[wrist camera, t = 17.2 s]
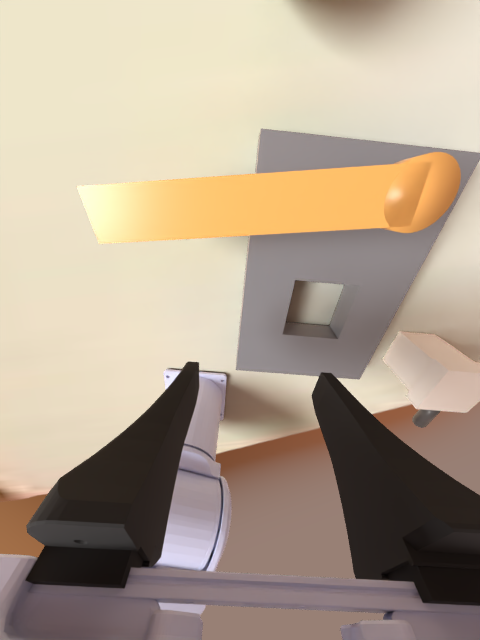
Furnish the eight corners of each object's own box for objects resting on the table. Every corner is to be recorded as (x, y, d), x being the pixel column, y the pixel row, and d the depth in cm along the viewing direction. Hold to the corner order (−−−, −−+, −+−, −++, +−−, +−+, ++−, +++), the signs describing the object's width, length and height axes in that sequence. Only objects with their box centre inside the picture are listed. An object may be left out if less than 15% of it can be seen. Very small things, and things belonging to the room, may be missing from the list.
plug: (403, 384, 27) (445, 433, 21) (366, 381, 26) (398, 429, 21) (441, 331, 22) (506, 375, 17) (397, 327, 22) (448, 370, 17)
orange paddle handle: (117, 244, 12) (101, 249, 10) (95, 181, 10) (73, 178, 9) (417, 227, 11) (441, 231, 9) (443, 156, 9) (475, 148, 8)
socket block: (349, 363, 25) (381, 413, 19) (236, 355, 25) (234, 403, 19) (448, 160, 15) (581, 133, 9) (258, 139, 14) (268, 97, 9)
